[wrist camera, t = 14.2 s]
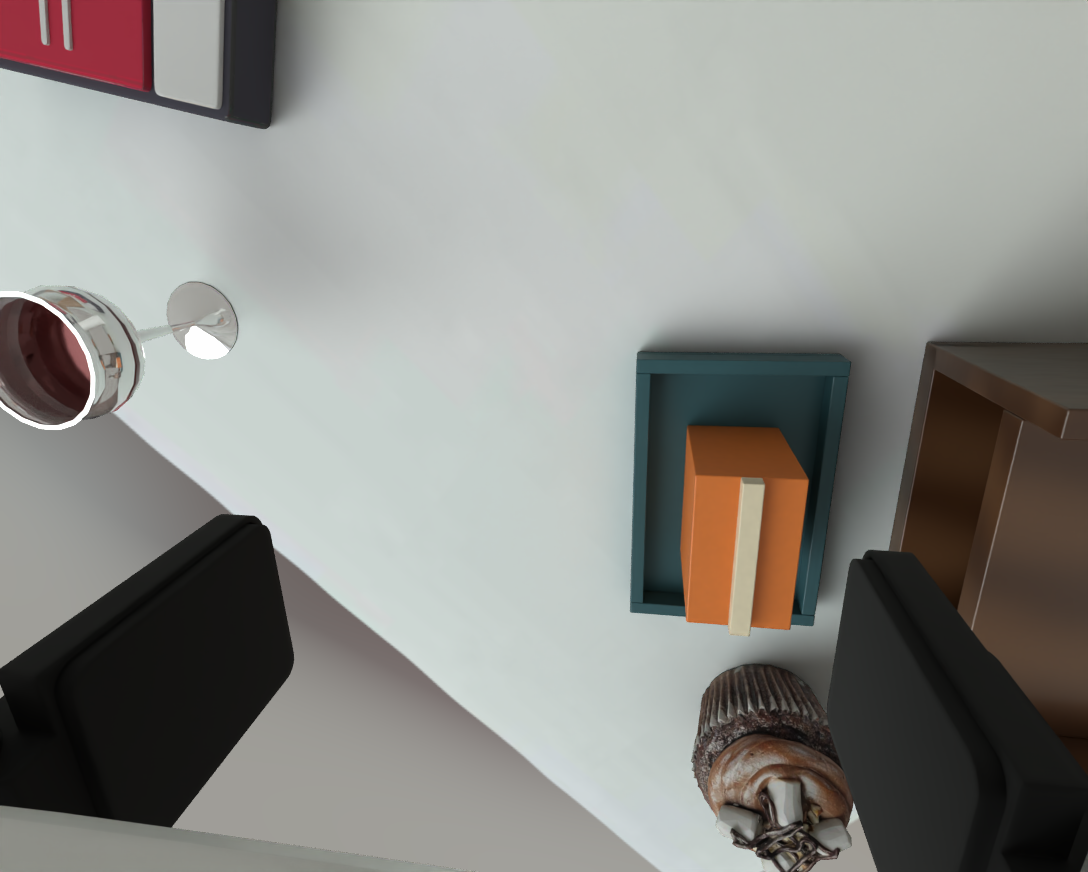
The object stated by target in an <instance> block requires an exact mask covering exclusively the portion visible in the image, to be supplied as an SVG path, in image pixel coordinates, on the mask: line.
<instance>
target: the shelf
mask: <svg viewBox="0 0 1088 872" xmlns="http://www.w3.org/2000/svg"><path fill="white" fill-rule="evenodd" d="M889 551H897V552H911V553H913V554H914V555H915V556H916V558H917V559H918V560H919V561H920V563H921V564H922V565H923V567H924V568H925V569H926V571H927V572H928V573H929V575H930V576H931V577H932V579H933V580H934V581H935V582H936V584H937V585H938V586H939V588H940V589H941V590H942V592H943V593H944V594H945V596H946V597H947V598H948V600H949V601H950V602H951V604H952V605H953V606H954V607H955V609H956V610H957V611H958V613H959V614H960V615H961V617H962V618H963V619H964V621H965V622H966V623H967V625H968V626H969V627H970V628H971V630H972V631H973V632H974V634H975V635H976V636H977V638H978V639H979V640H980V642H981V643H982V644H983V646H984V647H985V648H986V649H987V651H989V652H991V653H992V654H993V655H994V656H995V657H996V658H997V659H998V660H999V661H1000V662H1001V664H1002V665H1003V666H1004V667H1005V669H1006V670H1007V671H1008V673H1009V674H1010V675H1011V677H1012V678H1013V679H1014V680H1015V682H1016V683H1017V684H1018V686H1019V687H1020V688H1021V690H1022V691H1023V692H1024V693H1025V695H1026V696H1027V697H1028V699H1029V700H1030V701H1031V702H1032V704H1033V705H1034V706H1035V708H1036V709H1037V710H1038V712H1039V713H1040V714H1041V715H1042V717H1043V718H1044V719H1045V721H1046V722H1047V723H1048V725H1049V726H1050V727H1051V728H1052V730H1053V731H1054V732H1055V734H1056V735H1057V736H1058V737H1059V739H1060V740H1061V741H1062V743H1063V744H1064V745H1065V747H1066V748H1067V749H1068V750H1069V752H1070V753H1071V754H1072V756H1073V757H1074V758H1075V760H1076V761H1077V762H1078V763H1079V765H1080V766H1081V767H1082V769H1083V770H1084V771H1085V773H1086V774H1087V775H1088V343H1008V342H927V344H926V349H925V355H924V360H923V366H922V371H921V377H920V382H919V388H918V393H917V399H916V404H915V410H914V415H913V421H912V426H911V432H910V437H909V443H908V448H907V454H906V459H905V465H904V470H903V476H902V481H901V487H900V492H899V498H898V503H897V509H896V514H895V520H894V525H893V531H892V536H891V542H890V547H889Z"/></svg>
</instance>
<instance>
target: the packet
mask: <svg viewBox="0 0 1088 872" xmlns="http://www.w3.org/2000/svg"><path fill="white" fill-rule="evenodd" d="M808 485H809V479H808V477H807V475H806V474H805V472H804V470H803V469H802V467H801V465H800V464H799V462H798V460H797V458H796V457H795V455H794V453H793V452H792V450H791V448H790V447H789V445H788V443H787V441H786V440H785V438H784V436H783V435H782V433H781V431H780V429H779V428H770V427H735V426H699V425H688V426H687V436H686V454H685V472H684V490H683V508H682V526H681V545H680V552H681V564H682V576H683V588H684V600H685V612H686V621H687V622H694V623H707V624H720V625H728V629H729V634H730V635H737V636H750V628H751V627H759V628H772V629H785V630H790V626H791V618H792V610H793V602H794V594H795V586H796V579H797V571H798V563H799V555H800V547H801V539H802V532H803V524H804V516H805V508H806V500H807V493H808Z"/></svg>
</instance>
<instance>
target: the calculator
mask: <svg viewBox="0 0 1088 872" xmlns="http://www.w3.org/2000/svg"><path fill="white" fill-rule="evenodd" d="M276 8H277V0H0V68H3V69H8V70H12V71H16V72H20V73H24V74H29V75H33V76H37V77H41V78H45V79H50V80H54V81H58V82H62V83H66V84H71V85H75V86H79V87H83V88H88V89H92V90H96V91H100V92H104V93H109V94H113V95H117V96H121V97H125V98H130V99H134V100H138V101H142V102H146V103H151V104H155V105H159V106H163V107H168V108H172V109H176V110H180V111H184V112H189V113H193V114H197V115H201V116H205V117H210V118H214V119H218V120H222V121H227V122H232V123H236V124H241V125H245V126H250V127H255V128H260V129H266V128H268V127H269V126H270V122H271V107H272V88H273V68H274V48H275V28H276Z"/></svg>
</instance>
